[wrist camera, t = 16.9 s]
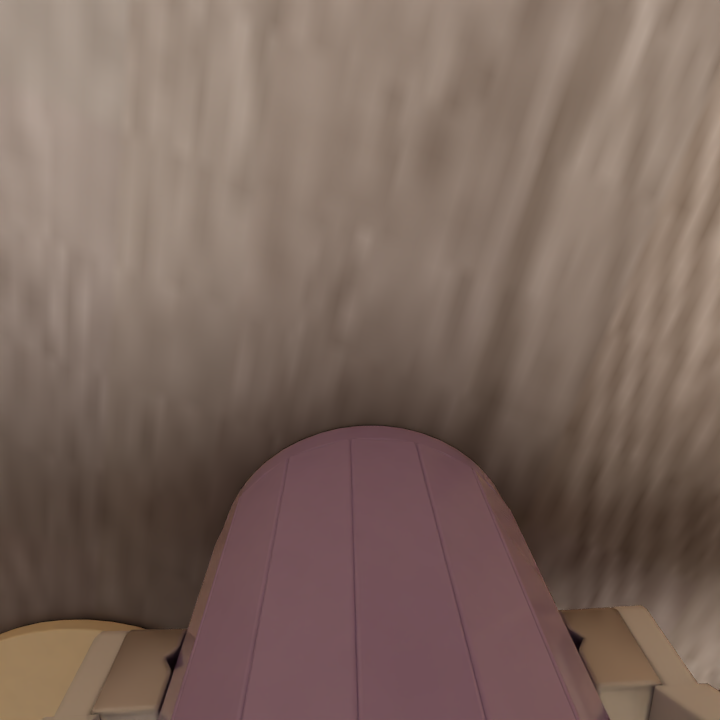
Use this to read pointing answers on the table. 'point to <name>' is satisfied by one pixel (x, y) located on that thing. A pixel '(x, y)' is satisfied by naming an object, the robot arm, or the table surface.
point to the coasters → (44, 664)
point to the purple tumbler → (375, 596)
